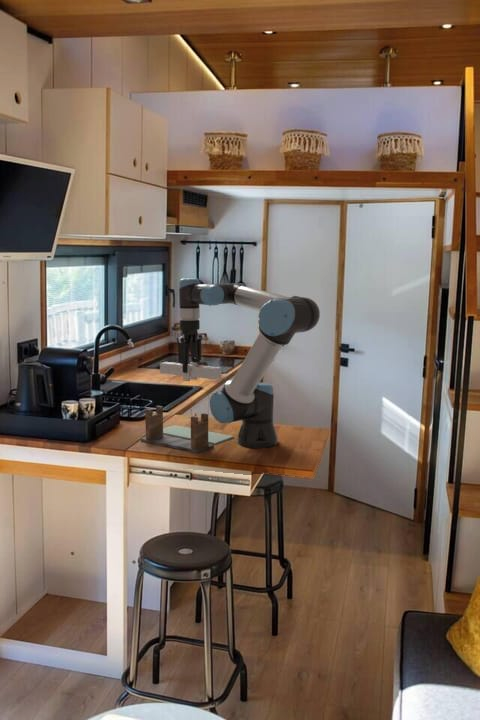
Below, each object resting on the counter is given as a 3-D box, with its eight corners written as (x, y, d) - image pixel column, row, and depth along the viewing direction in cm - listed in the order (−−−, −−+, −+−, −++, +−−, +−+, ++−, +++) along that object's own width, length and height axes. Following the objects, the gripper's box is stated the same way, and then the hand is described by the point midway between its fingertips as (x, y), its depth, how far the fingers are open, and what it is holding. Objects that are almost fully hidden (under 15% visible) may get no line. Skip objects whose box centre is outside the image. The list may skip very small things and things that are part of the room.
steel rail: (221, 377, 261) (221, 367, 260) (215, 379, 257) (215, 368, 257) (166, 371, 274) (166, 361, 274) (160, 373, 271) (160, 363, 271)
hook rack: (213, 447, 255) (213, 414, 253) (198, 453, 248) (198, 419, 246) (156, 435, 271) (156, 404, 269) (140, 440, 264) (140, 408, 262)
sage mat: (233, 437, 269) (233, 436, 269) (215, 444, 259) (215, 443, 259) (174, 426, 286) (174, 425, 286) (154, 432, 276) (154, 431, 276)
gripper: (194, 317, 272) (195, 375, 275) (167, 320, 258) (168, 382, 261) (210, 318, 268) (211, 377, 271) (183, 321, 254) (184, 384, 257)
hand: (190, 379), depth 266 cm, fingers closed on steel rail, 4 cm apart
